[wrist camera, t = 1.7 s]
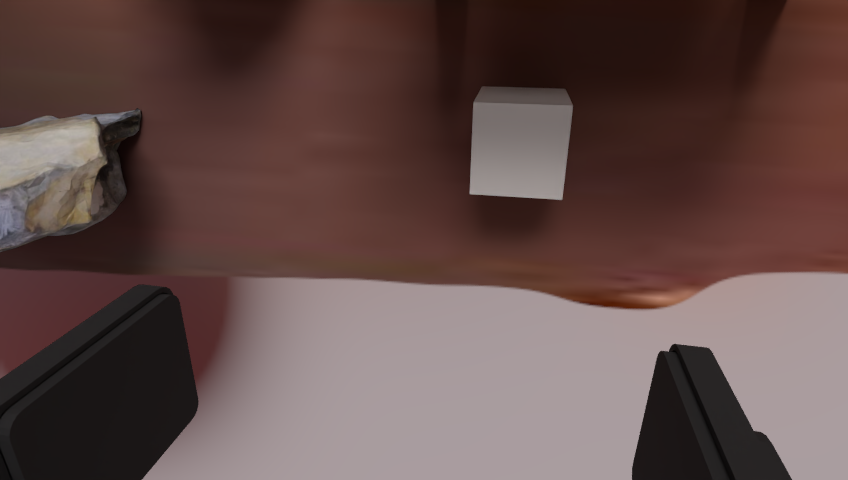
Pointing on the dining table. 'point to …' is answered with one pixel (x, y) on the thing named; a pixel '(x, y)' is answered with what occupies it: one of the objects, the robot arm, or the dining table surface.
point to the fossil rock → (61, 174)
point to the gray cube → (520, 142)
